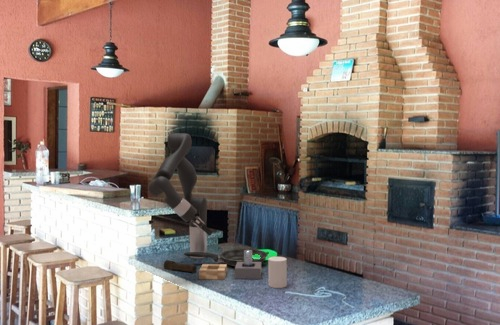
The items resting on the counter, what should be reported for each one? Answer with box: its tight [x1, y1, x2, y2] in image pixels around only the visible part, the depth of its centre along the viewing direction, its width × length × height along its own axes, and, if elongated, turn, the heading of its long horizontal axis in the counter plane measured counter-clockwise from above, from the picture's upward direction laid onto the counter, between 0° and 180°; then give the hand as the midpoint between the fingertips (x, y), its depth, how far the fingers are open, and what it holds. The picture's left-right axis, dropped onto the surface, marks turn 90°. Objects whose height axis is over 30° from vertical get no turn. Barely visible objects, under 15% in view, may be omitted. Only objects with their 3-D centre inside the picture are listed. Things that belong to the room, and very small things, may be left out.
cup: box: [267, 256, 288, 289], centre depth 227 cm, size 8×8×12 cm
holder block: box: [234, 262, 262, 280], centre depth 243 cm, size 12×12×5 cm
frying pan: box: [183, 248, 268, 268], centre depth 264 cm, size 44×25×7 cm, turn 94°
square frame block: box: [198, 263, 228, 280], centre depth 243 cm, size 12×12×4 cm
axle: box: [244, 250, 252, 267], centre depth 243 cm, size 4×4×12 cm
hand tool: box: [163, 259, 198, 274], centre depth 253 cm, size 19×4×5 cm, turn 61°
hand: (208, 232), depth 239 cm, fingers open, 8 cm apart
